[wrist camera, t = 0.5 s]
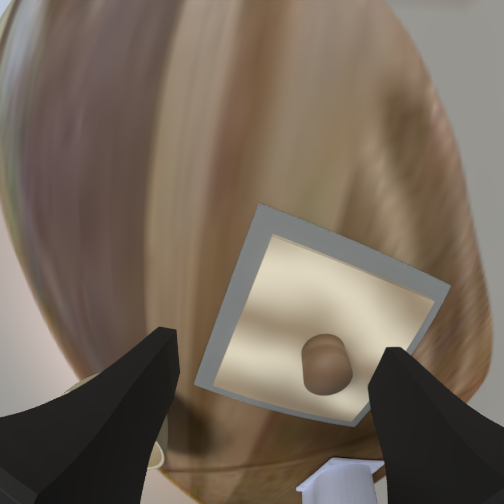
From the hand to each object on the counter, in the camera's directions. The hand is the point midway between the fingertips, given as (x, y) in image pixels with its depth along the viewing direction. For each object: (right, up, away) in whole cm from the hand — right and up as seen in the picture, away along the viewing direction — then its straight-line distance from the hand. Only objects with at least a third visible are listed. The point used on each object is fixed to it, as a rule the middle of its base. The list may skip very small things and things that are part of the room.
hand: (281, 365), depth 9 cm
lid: (+4, -3, +11) cm, 12 cm away
